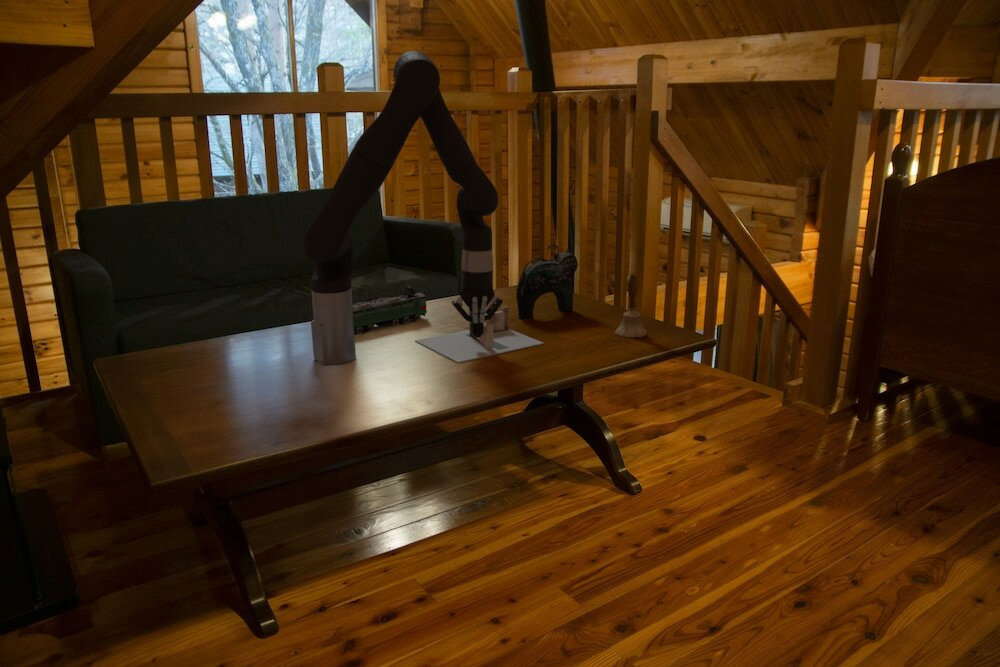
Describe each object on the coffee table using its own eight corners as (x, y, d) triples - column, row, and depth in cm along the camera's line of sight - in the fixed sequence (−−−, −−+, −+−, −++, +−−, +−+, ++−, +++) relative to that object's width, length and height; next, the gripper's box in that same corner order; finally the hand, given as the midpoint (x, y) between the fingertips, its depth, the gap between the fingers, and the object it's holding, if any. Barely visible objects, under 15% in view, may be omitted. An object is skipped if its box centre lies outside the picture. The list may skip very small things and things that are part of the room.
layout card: (458, 363, 185) (458, 361, 185) (415, 341, 201) (415, 340, 201) (543, 344, 199) (543, 342, 199) (496, 325, 215) (496, 323, 215)
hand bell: (647, 338, 203) (651, 278, 198) (615, 337, 204) (617, 277, 199) (645, 329, 211) (648, 271, 206) (614, 328, 212) (616, 270, 207)
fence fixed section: (471, 336, 204) (471, 312, 202) (468, 335, 205) (467, 311, 204) (509, 328, 211) (509, 305, 209) (506, 327, 212) (505, 304, 210)
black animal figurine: (567, 306, 234) (568, 239, 228) (581, 311, 229) (583, 243, 223) (513, 316, 223) (513, 247, 217) (526, 322, 218) (526, 251, 212)
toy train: (431, 319, 222) (430, 284, 219) (333, 341, 203) (330, 303, 200) (421, 315, 226) (420, 281, 223) (324, 336, 207) (321, 299, 204)
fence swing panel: (471, 335, 204) (470, 313, 202) (477, 334, 204) (477, 312, 202) (487, 349, 193) (487, 325, 191) (494, 348, 193) (494, 324, 191)
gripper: (455, 272, 183) (455, 343, 188) (508, 269, 187) (507, 338, 192) (446, 266, 190) (447, 334, 195) (498, 263, 194) (497, 330, 199)
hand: (477, 336), depth 194 cm, fingers closed
